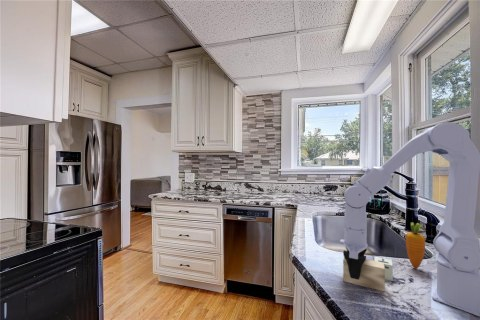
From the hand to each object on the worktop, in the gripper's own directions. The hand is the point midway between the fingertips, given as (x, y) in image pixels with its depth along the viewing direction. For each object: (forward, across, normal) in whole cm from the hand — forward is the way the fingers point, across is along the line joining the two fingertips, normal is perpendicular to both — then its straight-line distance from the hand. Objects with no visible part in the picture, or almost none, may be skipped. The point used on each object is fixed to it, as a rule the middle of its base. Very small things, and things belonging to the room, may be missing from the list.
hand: (355, 274), depth 64 cm
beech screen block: (+2, 0, +2) cm, 3 cm away
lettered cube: (+2, -8, +7) cm, 11 cm away
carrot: (+2, -18, +16) cm, 25 cm away
